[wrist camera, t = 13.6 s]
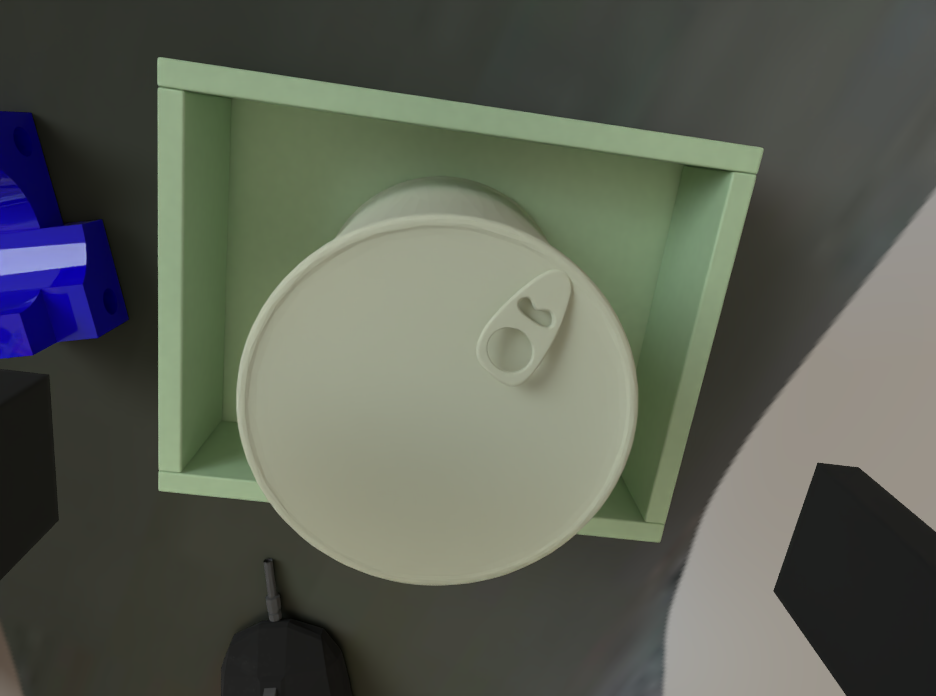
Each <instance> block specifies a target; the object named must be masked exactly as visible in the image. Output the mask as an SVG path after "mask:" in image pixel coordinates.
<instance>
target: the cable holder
mask: <svg viewBox="0 0 936 696" xmlns="http://www.w3.org/2000/svg"><path fill="white" fill-rule="evenodd" d="M127 320H129V318H128V314H127V310H126V306H125V303H124V299H123V295H122V292H121V288H120V284H119V280H118V277H117V273H116V269H115V265H114V262H113V258H112V254H111V251H110V247H109V243H108V239H107V236H106V232H105V228H104V224H103V221H102V219H99V220H89V221H79V222H70V223H63V221H62V218H61V214H60V211H59V207H58V204H57V201H56V197H55V194H54V190H53V187H52V183H51V180H50V176H49V173H48V169H47V166H46V162H45V159H44V155H43V152H42V148H41V145H40V141H39V138H38V134H37V131H36V127H35V124H34V120H33V117H32V113H27V112H6V111H0V359H1V358H11V357H21V356H30V355H34V354H36V353H38V352H40V351H42V350H43V349H45V348H47V347H49V346H51V345H53V344H55V343H56V342H63V341H72V340H82V339H92V338H99V337H100V336H102V335H104V334H105V333H107V332H109V331H110V330H112V329H114V328H115V327H117V326H119V325H121V324H122V323H124V322H126V321H127Z"/></svg>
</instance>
